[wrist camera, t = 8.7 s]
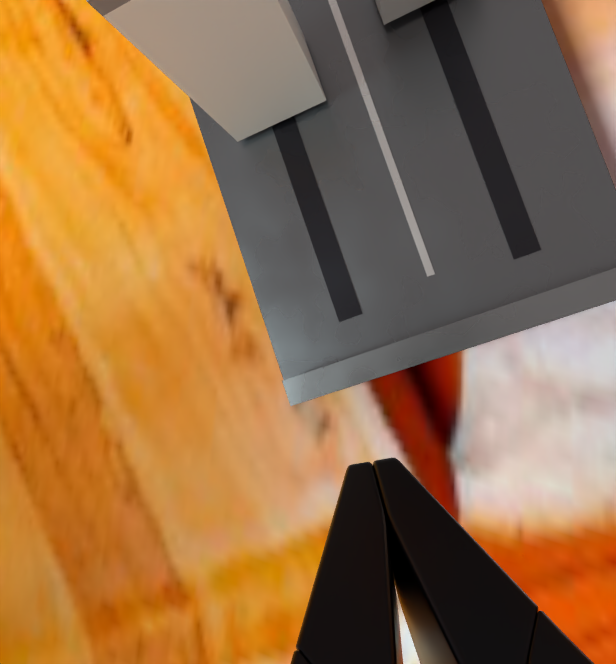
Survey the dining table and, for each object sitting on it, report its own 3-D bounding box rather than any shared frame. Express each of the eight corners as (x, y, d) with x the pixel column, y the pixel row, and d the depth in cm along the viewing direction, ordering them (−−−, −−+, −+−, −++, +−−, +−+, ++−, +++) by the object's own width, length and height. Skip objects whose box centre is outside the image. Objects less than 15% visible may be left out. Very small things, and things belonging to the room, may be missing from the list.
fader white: (326, 100, 21) (236, -85, 11) (237, 141, 22) (86, 0, 12) (302, 32, 21) (194, -204, 12) (215, 76, 22) (51, -111, 13)
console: (640, 287, 20) (675, 280, 17) (298, 399, 23) (278, 409, 20) (457, -180, 21) (461, -261, 18) (161, -12, 24) (123, -59, 21)
